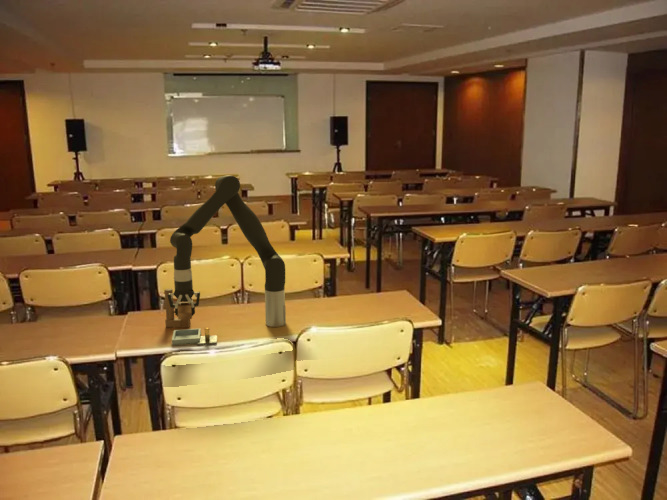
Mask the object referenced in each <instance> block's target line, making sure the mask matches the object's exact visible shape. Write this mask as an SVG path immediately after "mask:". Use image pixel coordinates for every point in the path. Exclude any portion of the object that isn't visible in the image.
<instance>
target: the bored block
mask: <svg viewBox="0 0 667 500" xmlns="http://www.w3.org/2000/svg"><path fill="white" fill-rule="evenodd" d="M191 308H192V307H191V305H190V303H189V302H181V301H180V303H179V305H178V317H177V318H178V320H182V319H190V320H192V319H193V316H192V310H191Z"/></svg>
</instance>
